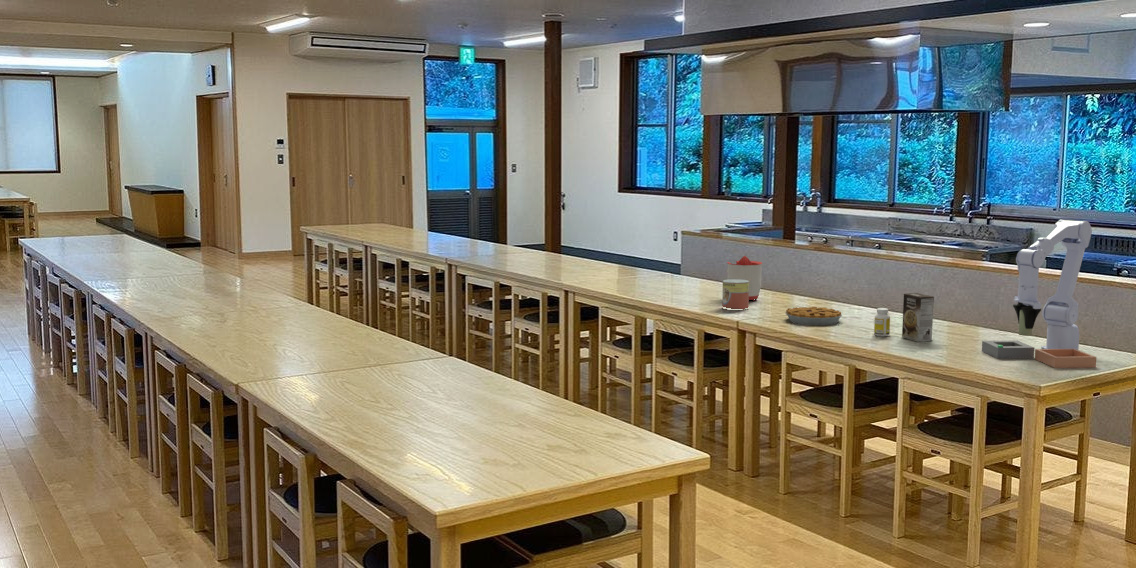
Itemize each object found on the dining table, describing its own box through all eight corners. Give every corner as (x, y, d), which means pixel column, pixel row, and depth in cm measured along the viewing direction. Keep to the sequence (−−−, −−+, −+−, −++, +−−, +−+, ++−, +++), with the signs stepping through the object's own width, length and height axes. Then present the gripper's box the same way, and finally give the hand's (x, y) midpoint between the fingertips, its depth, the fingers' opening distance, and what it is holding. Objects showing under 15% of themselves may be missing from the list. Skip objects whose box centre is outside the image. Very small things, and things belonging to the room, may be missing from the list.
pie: (793, 326, 389) (793, 313, 388) (779, 317, 411) (779, 305, 410) (849, 326, 390) (849, 313, 389) (832, 316, 411) (832, 304, 411)
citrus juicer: (739, 295, 468) (739, 252, 465) (768, 299, 455) (769, 255, 452) (716, 299, 458) (717, 255, 455) (746, 303, 445) (747, 258, 442)
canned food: (716, 307, 434) (717, 280, 432) (738, 305, 439) (739, 278, 437) (731, 311, 424) (732, 283, 422) (754, 309, 429) (754, 281, 427)
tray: (1074, 358, 328) (1074, 348, 327) (1095, 367, 315) (1096, 357, 315) (1034, 359, 328) (1035, 349, 327) (1054, 367, 315) (1055, 357, 314)
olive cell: (1028, 333, 332) (1029, 307, 331) (1034, 335, 328) (1035, 309, 327) (1016, 333, 332) (1017, 307, 331) (1021, 335, 328) (1023, 309, 327)
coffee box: (901, 337, 365) (902, 293, 363) (915, 336, 368) (917, 292, 365) (918, 342, 357) (919, 296, 355) (932, 340, 359) (934, 295, 357)
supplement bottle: (886, 333, 373) (887, 307, 371) (891, 336, 367) (892, 310, 366) (871, 333, 372) (872, 307, 371) (876, 336, 367) (877, 310, 366)
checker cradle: (1016, 350, 341) (1017, 338, 340) (1033, 358, 329) (1034, 345, 329) (981, 351, 341) (982, 339, 340) (997, 358, 329) (998, 346, 328)
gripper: (1006, 283, 335) (1003, 323, 337) (1026, 289, 320) (1023, 331, 322) (1027, 283, 335) (1024, 323, 337) (1048, 289, 321) (1045, 331, 322)
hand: (1025, 327), depth 330 cm, fingers closed on olive cell, 4 cm apart
